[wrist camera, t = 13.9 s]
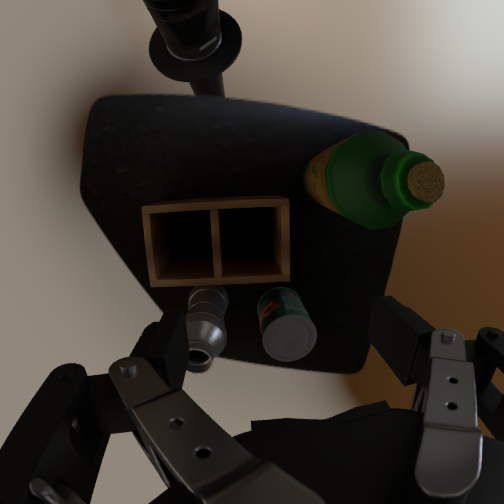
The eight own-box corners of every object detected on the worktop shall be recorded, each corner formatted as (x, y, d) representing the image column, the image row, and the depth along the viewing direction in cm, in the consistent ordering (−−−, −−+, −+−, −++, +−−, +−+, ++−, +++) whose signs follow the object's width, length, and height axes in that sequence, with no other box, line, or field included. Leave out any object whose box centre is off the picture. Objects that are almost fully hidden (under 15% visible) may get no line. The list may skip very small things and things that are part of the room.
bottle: (283, 160, 45) (349, 133, 18) (341, 139, 44) (450, 103, 17) (308, 221, 47) (395, 272, 20) (363, 197, 47) (482, 221, 20)
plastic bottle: (183, 287, 49) (154, 349, 29) (218, 270, 48) (207, 327, 29) (201, 317, 50) (185, 390, 31) (235, 302, 50) (236, 372, 31)
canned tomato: (254, 290, 50) (259, 319, 39) (299, 283, 50) (315, 310, 39) (260, 330, 52) (266, 365, 41) (302, 323, 52) (317, 356, 41)
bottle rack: (160, 201, 45) (141, 206, 36) (278, 194, 46) (289, 198, 36) (166, 266, 48) (150, 287, 38) (279, 261, 49) (290, 281, 39)
